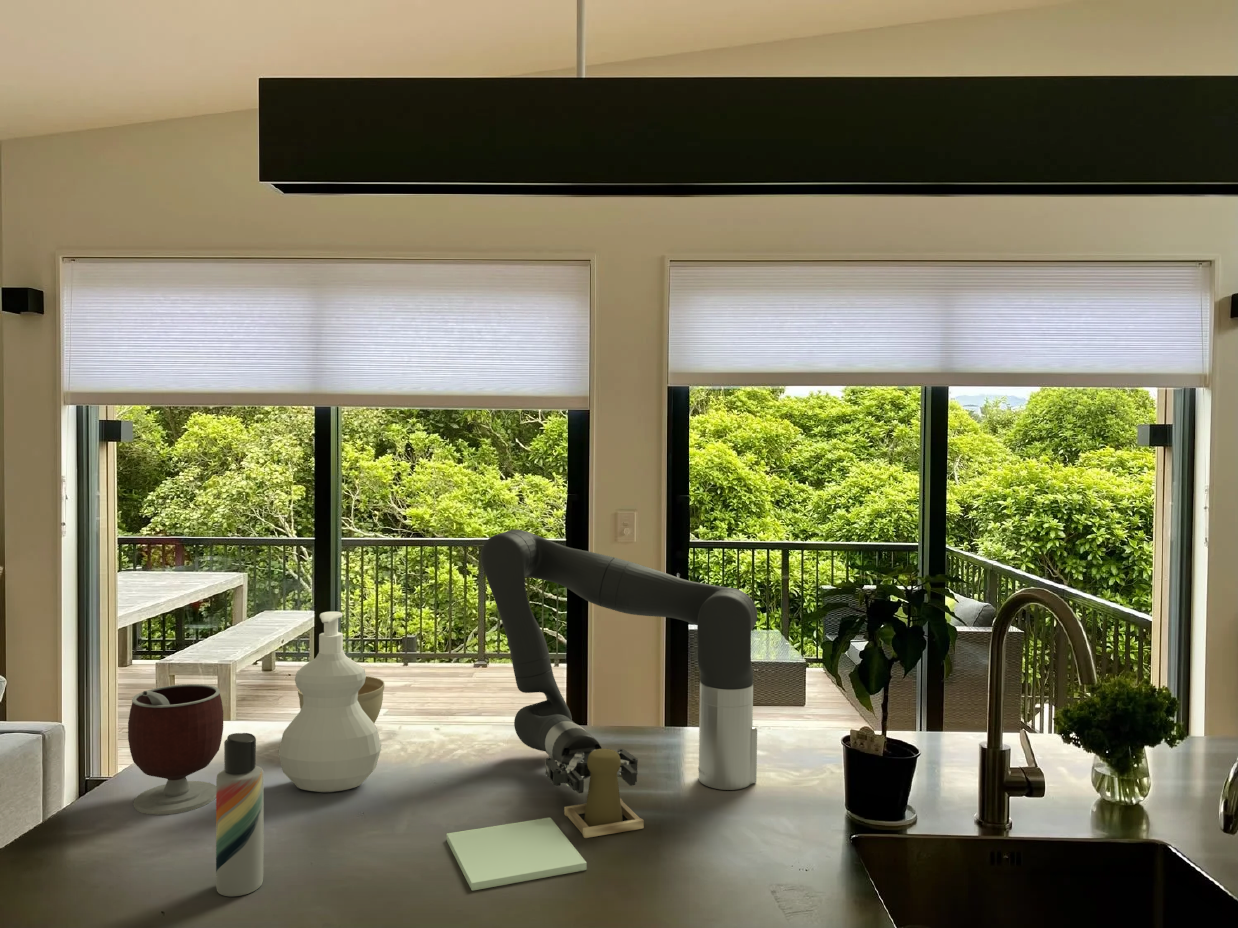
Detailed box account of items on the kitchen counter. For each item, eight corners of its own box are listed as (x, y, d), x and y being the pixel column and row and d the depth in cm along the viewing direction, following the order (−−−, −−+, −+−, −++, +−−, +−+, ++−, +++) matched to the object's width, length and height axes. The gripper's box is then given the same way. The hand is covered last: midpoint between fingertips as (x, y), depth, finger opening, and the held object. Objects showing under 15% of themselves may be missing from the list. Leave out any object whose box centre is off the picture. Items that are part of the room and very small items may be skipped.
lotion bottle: (225, 876, 121) (225, 728, 120) (268, 875, 121) (269, 727, 121) (209, 898, 115) (209, 742, 114) (255, 896, 115) (255, 741, 115)
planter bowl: (357, 722, 187) (357, 670, 187) (400, 741, 176) (400, 685, 176) (282, 740, 176) (282, 684, 175) (323, 761, 164) (323, 702, 164)
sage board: (550, 823, 139) (550, 817, 139) (586, 869, 124) (586, 862, 124) (446, 840, 132) (446, 833, 132) (471, 890, 118) (471, 882, 118)
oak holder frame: (620, 805, 146) (620, 798, 146) (643, 828, 137) (643, 820, 137) (564, 814, 142) (564, 806, 142) (584, 837, 134) (584, 829, 134)
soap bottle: (268, 799, 147) (268, 619, 146) (290, 773, 158) (291, 606, 158) (373, 798, 148) (374, 619, 147) (387, 772, 159) (388, 606, 158)
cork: (618, 831, 136) (619, 759, 136) (579, 827, 137) (580, 755, 137) (626, 815, 142) (626, 746, 142) (588, 811, 143) (589, 743, 143)
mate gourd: (161, 781, 154) (161, 664, 153) (239, 784, 153) (239, 667, 152) (101, 818, 138) (101, 689, 138) (188, 822, 137) (188, 692, 137)
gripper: (532, 731, 150) (564, 764, 135) (611, 722, 156) (650, 753, 141) (532, 776, 150) (563, 813, 135) (611, 765, 156) (650, 800, 141)
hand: (608, 782), depth 138 cm, fingers open, 8 cm apart
